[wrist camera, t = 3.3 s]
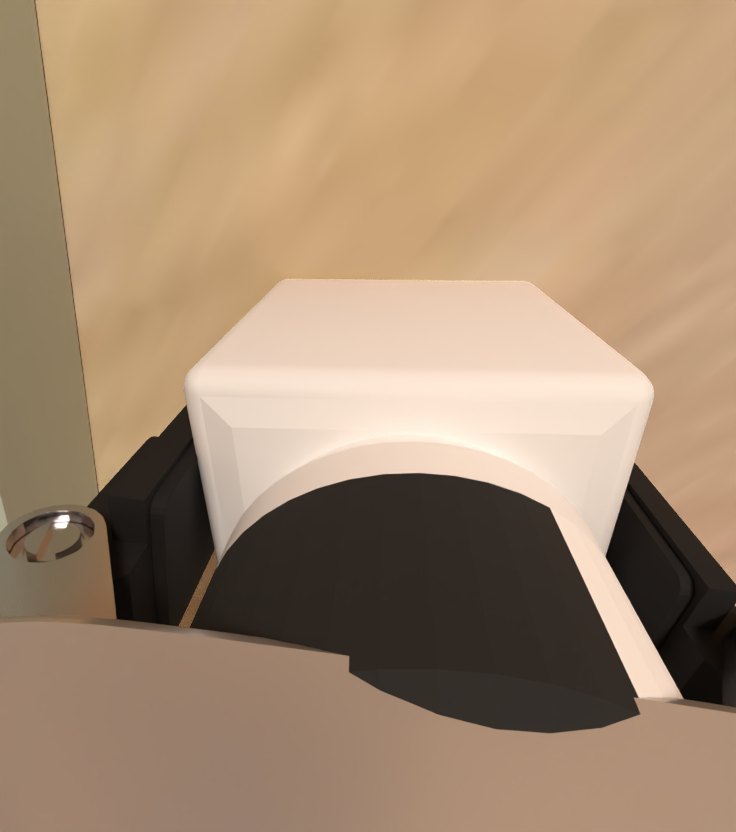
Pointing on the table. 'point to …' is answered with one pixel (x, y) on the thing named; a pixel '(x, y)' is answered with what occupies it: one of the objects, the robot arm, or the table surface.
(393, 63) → the table surface
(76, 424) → the pale green rimmed tray
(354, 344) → the medicine bottle
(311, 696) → the robot arm
